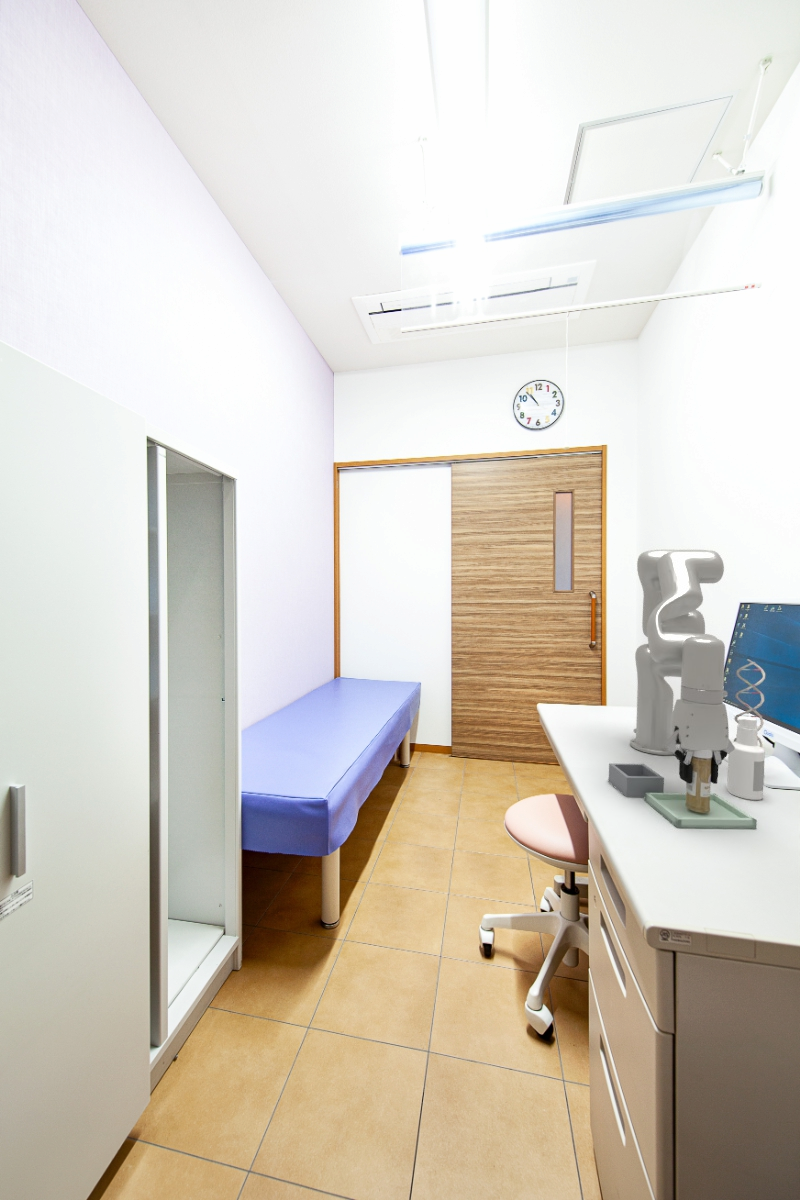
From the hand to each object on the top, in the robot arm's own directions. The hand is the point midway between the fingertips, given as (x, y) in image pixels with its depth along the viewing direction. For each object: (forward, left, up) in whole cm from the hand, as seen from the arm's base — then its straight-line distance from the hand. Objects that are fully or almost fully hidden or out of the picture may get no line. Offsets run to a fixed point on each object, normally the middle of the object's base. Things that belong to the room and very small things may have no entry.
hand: (698, 780), depth 99 cm
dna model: (-21, +27, -7) cm, 35 cm away
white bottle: (-10, +18, -7) cm, 22 cm away
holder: (-12, -7, -7) cm, 16 cm away
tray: (0, 0, -7) cm, 7 cm away
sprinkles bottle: (0, 0, -6) cm, 6 cm away
